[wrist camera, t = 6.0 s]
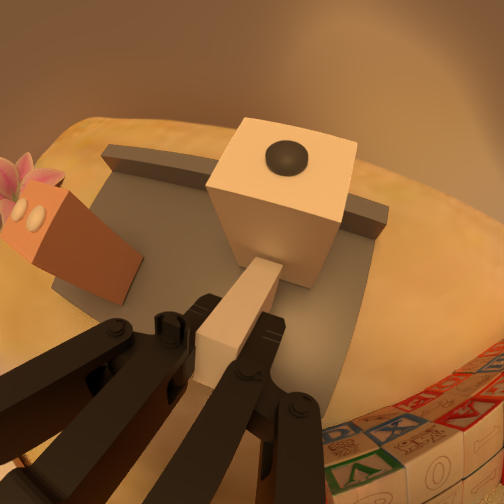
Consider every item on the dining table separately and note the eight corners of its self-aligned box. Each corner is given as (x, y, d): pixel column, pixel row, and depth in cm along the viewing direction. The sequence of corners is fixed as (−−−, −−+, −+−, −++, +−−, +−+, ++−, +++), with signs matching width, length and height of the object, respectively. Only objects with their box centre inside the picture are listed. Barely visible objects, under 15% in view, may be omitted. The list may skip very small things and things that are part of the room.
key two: (143, 256, 19) (66, 187, 10) (121, 305, 18) (27, 261, 9) (100, 238, 20) (27, 176, 11) (79, 281, 19) (-4, 234, 10)
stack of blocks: (320, 497, 13) (354, 605, 1) (306, 432, 15) (344, 533, 4) (520, 385, 13) (609, 372, 1) (512, 329, 15) (606, 292, 4)
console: (372, 232, 20) (389, 206, 16) (319, 413, 15) (329, 428, 12) (126, 168, 25) (108, 144, 21) (61, 292, 20) (32, 279, 17)
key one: (327, 235, 18) (358, 137, 10) (311, 289, 17) (342, 218, 8) (259, 214, 19) (244, 112, 11) (238, 265, 18) (203, 180, 9)
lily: (38, 276, 23) (10, 220, 15) (-20, 244, 20) (-47, 191, 13) (84, 202, 30) (79, 142, 23) (26, 182, 28) (15, 128, 21)
